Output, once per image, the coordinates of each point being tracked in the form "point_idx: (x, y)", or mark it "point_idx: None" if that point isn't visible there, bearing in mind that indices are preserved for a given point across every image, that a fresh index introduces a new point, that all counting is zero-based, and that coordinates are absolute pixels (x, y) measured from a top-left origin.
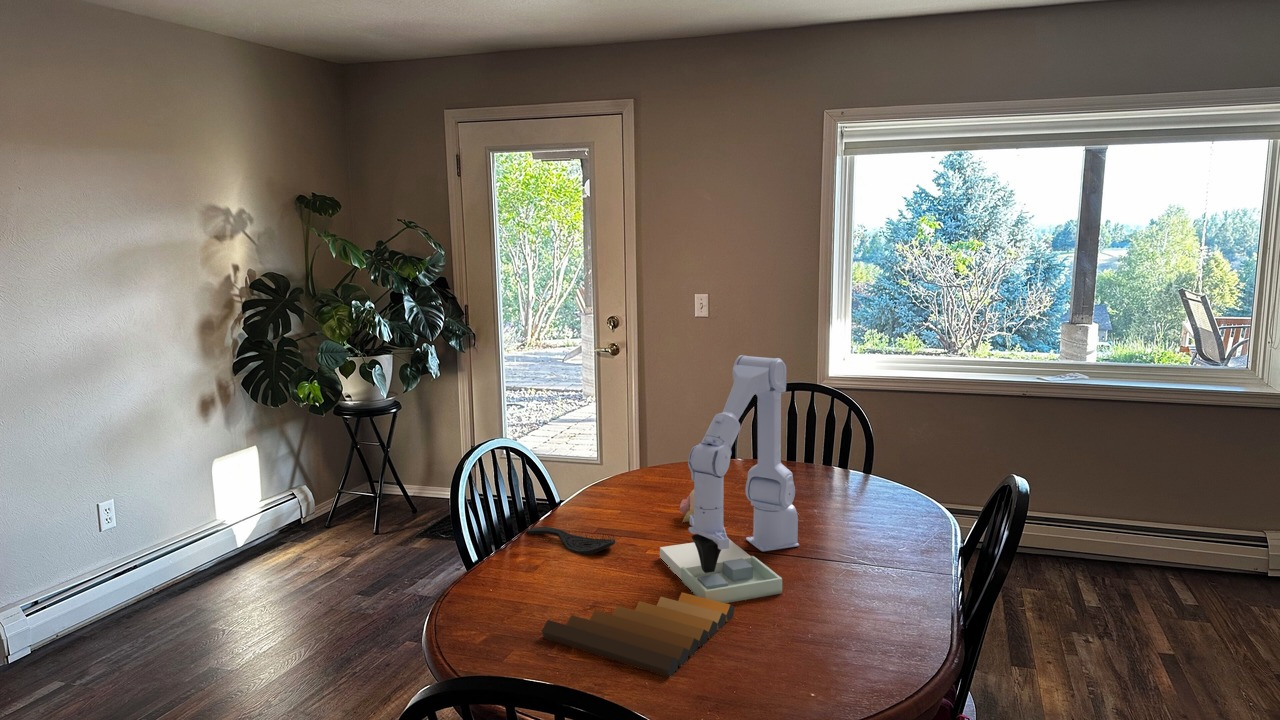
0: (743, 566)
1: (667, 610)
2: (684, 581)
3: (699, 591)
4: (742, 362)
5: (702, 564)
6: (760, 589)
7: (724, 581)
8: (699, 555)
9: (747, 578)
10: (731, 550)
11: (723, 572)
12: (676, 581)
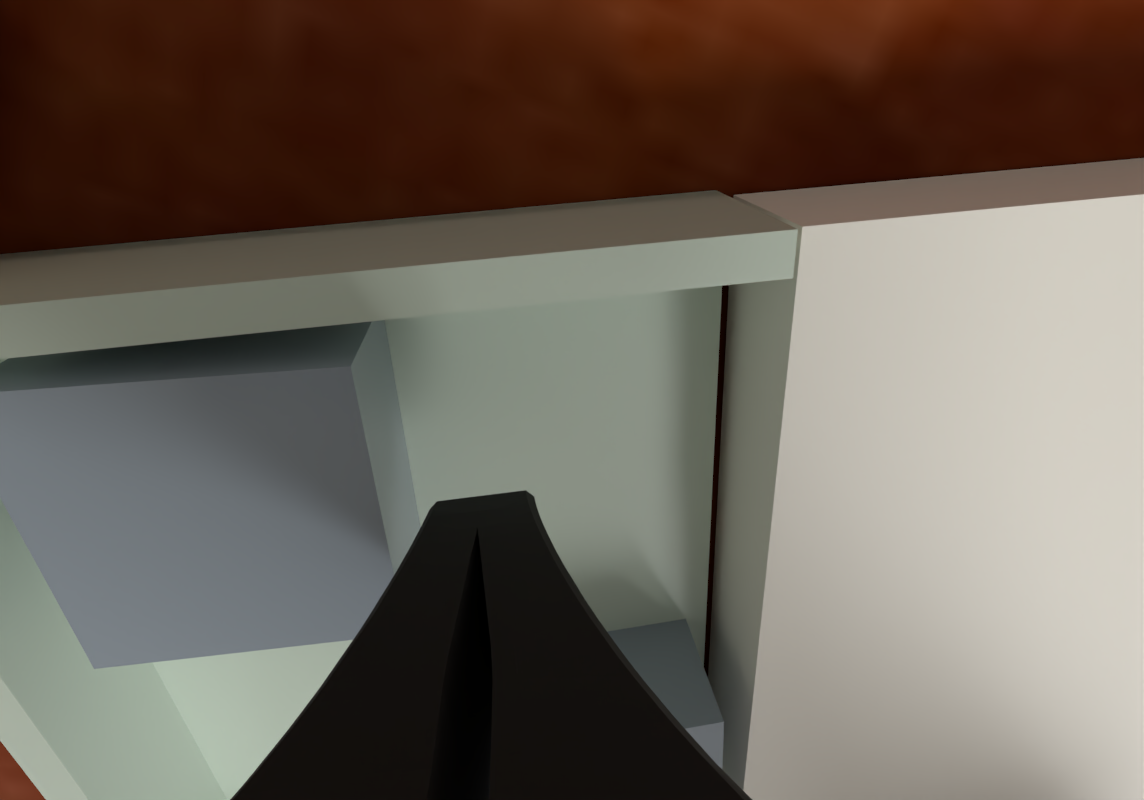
0: None
1: None
2: (623, 206)
3: (58, 274)
4: None
5: (456, 558)
6: None
7: (146, 646)
8: (560, 644)
9: None
10: (945, 795)
11: (673, 630)
12: (735, 125)
